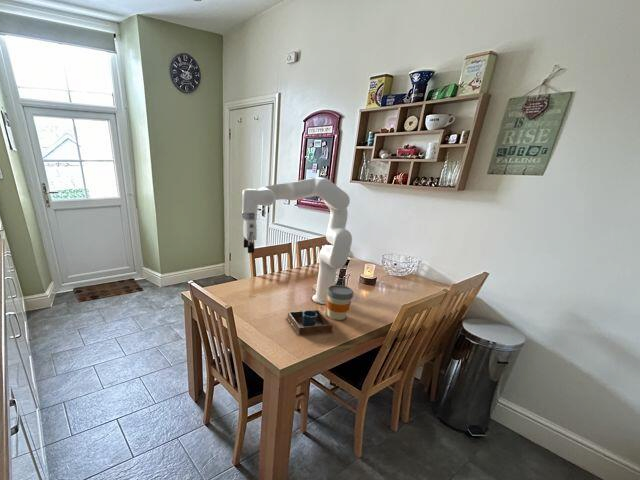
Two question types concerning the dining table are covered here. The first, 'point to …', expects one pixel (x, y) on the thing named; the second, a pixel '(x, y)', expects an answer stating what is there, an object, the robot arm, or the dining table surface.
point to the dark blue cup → (309, 318)
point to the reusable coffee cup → (338, 301)
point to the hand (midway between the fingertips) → (248, 250)
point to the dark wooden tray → (319, 326)
